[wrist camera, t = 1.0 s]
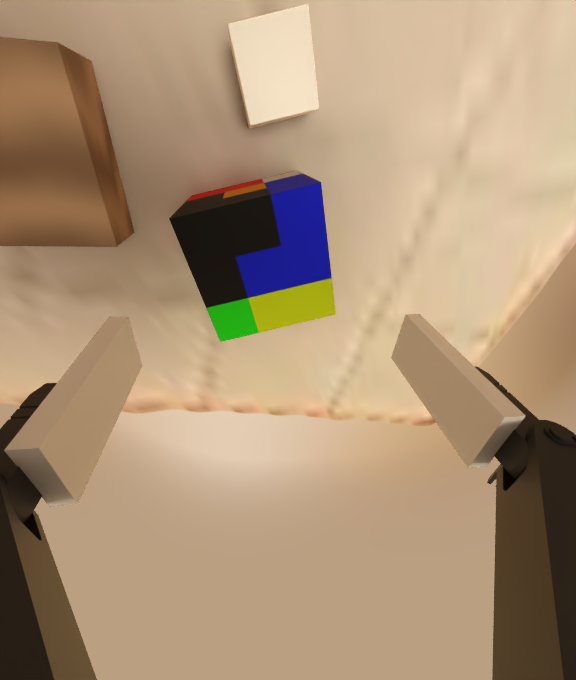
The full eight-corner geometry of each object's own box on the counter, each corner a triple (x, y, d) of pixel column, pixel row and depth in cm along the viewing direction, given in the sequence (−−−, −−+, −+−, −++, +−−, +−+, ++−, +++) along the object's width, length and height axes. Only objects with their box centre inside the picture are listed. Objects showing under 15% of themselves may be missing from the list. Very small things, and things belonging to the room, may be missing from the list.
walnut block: (-98, 45, 19) (-189, 19, 15) (93, 62, 21) (57, 42, 17) (-4, 229, 26) (-49, 245, 22) (135, 231, 28) (116, 246, 24)
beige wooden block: (230, 46, 21) (227, 23, 17) (295, 30, 21) (308, 3, 17) (248, 128, 24) (250, 125, 20) (306, 114, 24) (319, 108, 20)
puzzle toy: (296, 170, 26) (320, 182, 18) (311, 271, 32) (335, 314, 24) (191, 195, 26) (169, 218, 18) (226, 291, 32) (220, 341, 24)
